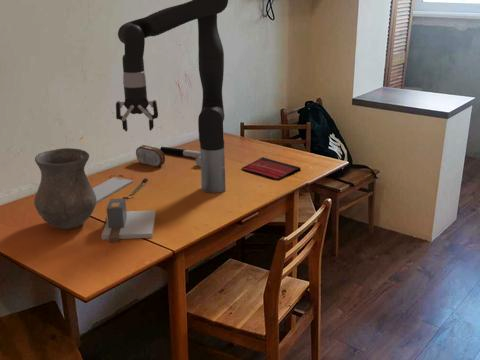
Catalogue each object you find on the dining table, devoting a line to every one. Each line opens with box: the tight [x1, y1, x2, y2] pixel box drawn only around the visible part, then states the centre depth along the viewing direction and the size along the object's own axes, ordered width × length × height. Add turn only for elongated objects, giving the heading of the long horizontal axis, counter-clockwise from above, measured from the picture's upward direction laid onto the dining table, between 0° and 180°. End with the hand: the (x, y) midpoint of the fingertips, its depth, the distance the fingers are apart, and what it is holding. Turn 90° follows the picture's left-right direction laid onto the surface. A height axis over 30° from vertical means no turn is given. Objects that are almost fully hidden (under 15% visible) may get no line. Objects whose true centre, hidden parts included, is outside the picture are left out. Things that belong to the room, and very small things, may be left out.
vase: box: [33, 147, 97, 231], centre depth 182 cm, size 20×19×25 cm
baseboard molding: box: [92, 174, 133, 204], centre depth 212 cm, size 31×3×12 cm
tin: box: [135, 144, 166, 168], centre depth 241 cm, size 15×3×8 cm, turn 58°
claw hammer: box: [159, 146, 201, 168], centre depth 253 cm, size 5×22×30 cm
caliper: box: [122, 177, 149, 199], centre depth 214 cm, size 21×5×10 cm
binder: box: [241, 156, 302, 181], centre depth 235 cm, size 16×2×21 cm
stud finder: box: [106, 198, 127, 228], centre depth 183 cm, size 5×8×7 cm, turn 4°
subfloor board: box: [101, 210, 157, 243], centre depth 184 cm, size 16×22×2 cm
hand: (138, 130), depth 192 cm, fingers open, 8 cm apart
